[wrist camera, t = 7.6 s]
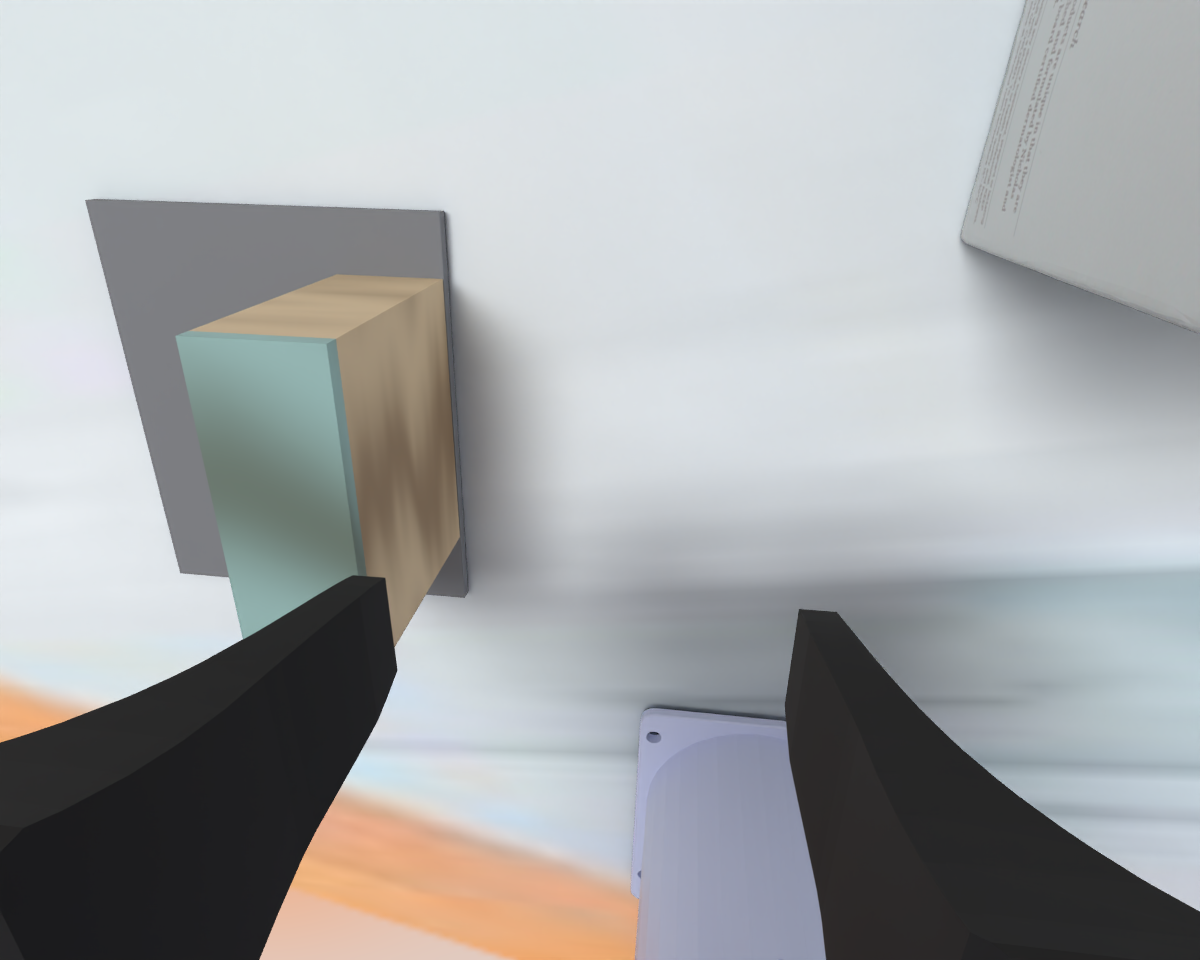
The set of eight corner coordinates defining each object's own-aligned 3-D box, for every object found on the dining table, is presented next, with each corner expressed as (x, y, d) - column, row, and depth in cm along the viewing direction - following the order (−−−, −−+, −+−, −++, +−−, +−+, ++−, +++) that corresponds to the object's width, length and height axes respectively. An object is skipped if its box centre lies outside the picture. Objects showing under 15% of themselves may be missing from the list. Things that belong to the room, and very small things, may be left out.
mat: (468, 590, 25) (464, 597, 24) (187, 566, 26) (180, 573, 25) (443, 211, 20) (439, 212, 19) (95, 198, 21) (85, 200, 20)
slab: (459, 536, 23) (372, 684, 17) (368, 529, 24) (250, 671, 17) (442, 278, 20) (326, 343, 14) (336, 274, 20) (174, 335, 14)
